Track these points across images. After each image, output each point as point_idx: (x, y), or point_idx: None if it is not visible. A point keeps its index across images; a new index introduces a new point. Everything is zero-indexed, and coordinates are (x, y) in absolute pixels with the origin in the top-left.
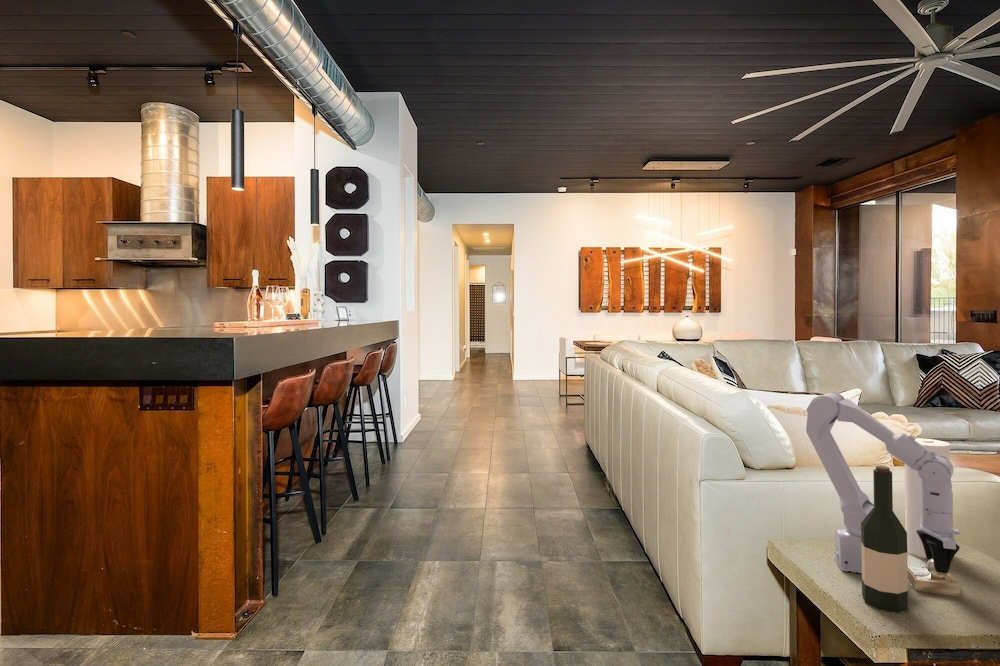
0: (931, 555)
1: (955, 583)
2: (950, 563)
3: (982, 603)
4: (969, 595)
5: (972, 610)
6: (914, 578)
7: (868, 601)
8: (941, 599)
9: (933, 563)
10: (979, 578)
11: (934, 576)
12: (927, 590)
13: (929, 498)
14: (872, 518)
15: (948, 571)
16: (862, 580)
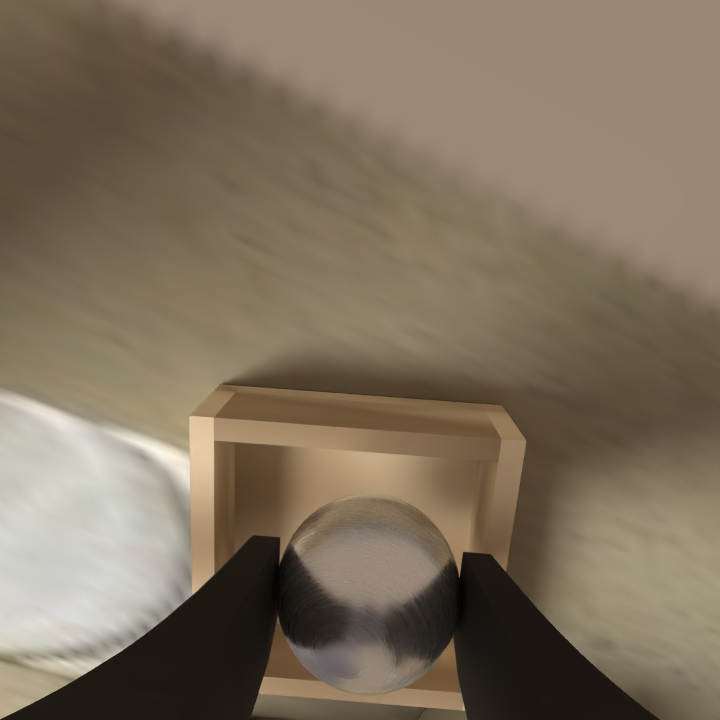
0: (254, 665)
1: (496, 461)
2: (549, 625)
3: (585, 298)
4: (462, 328)
5: (707, 420)
6: (463, 710)
7: None
8: (566, 540)
9: (417, 679)
10: (87, 82)
11: (232, 466)
12: None
13: None
14: None
15: (425, 518)
16: None
